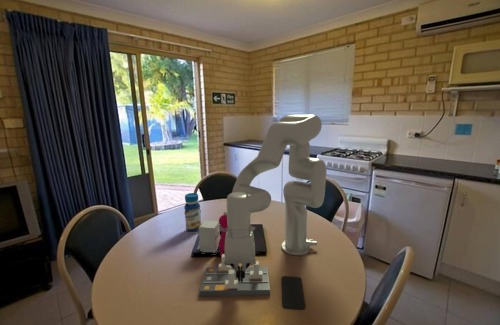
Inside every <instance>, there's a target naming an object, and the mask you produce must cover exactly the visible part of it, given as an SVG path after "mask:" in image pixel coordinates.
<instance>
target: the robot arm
mask: <svg viewBox="0 0 500 325" xmlns="http://www.w3.org/2000/svg"><path fill="white" fill-rule="evenodd" d="M322 126H323V124H322V120H321V117H319V116H318V115H316V114H289V115H288V114H287V115H284V116H282V117H281V118H280V120H279V121H276V122H273V123H271V124H270V126H269V128H268V129H267V132H266V134H265V137H264V140H263V142H262V144H261V147H260V148H259V151H258V154H257V156H256V157H255V158H254V159H252V160H251V161H250V162H249V163H248V164H247V165H246V166H244V167H243V169H242V170H241V171H240V173H239V174H238V176H237V177H236V178H237V179H236V181H235V182H234V185H233V187H232V192H230V193H229V194H227V197H226V212H227V224H228V231H227V232H226V236H225V261H224V264H225V265H228V266H231V267H232V268H234V269H235V271H236V278H238V282H240V277H241V282H243V278H245V270H246V269H247V268H248V267H251V266H254V264H256V261H257V260H256V245H255V237H254V236H255V235H254V231H256V226H255V225H254V226H253V225H252V224H251V222H252V221H251V214H253V213H260V212H263V211H264V210H267V209H268V208H270V205H271V203H272V196H271V194H270V192H269V191H268V190H266V189H262V188H260V187H255V186H251V184H252V182H253V181H254V179H255V178H256V177H257V176H259V175H260V174H263V173H265V172H268V171H270V170H273V169H276V168H278V167H279V166H280V165H281V161H282V158H283V157H284V154H285V151H286V148H287V146H289V153H288V174H289V176H291V177H292V178H294V179H298V180H299V181H298V180H290V181H288V182H286V183H285V184H284V186H283V190H282V191H283V192H282V193H283V199H284V206H285V207H284V208H285V210H284V211H285V215H284V216H285V217H284V218H285V219H284V221H285V222H284V224H285V225H284V226H285V228H284V229H285V230H284V232H285V234H284V236H285V237H284V241H283V242H282V243H281V250H282V251H283V252H285V253H286V254H288V255H292V256H304V255H306V254H308V253H309V252H310V249H311V248H310V247H311V246H315V247H316V246H318V242H317V240H314V239H313V238H309V239H308V238H307V233H308V228H307V227H308V211H307V210H308V209H307V208H306V207H310V208H314V209H317V208H320V207H322V205H323V204H324V201H325V200H324V199H325V193H326V184H327V183H326V182H327V165H326V163H325V161H324V160H322V159H321V158H317V157H311V154H310V153H311V145H310V141H312V140H313V139H315V138H317V136H319V134H320V133H321V130H322ZM300 180H304V181H300ZM305 181H309V182H310V183H308V182H305ZM239 264H241V266H240V265H239ZM240 267H241V271H240ZM240 274H241V275H240Z"/></svg>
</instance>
